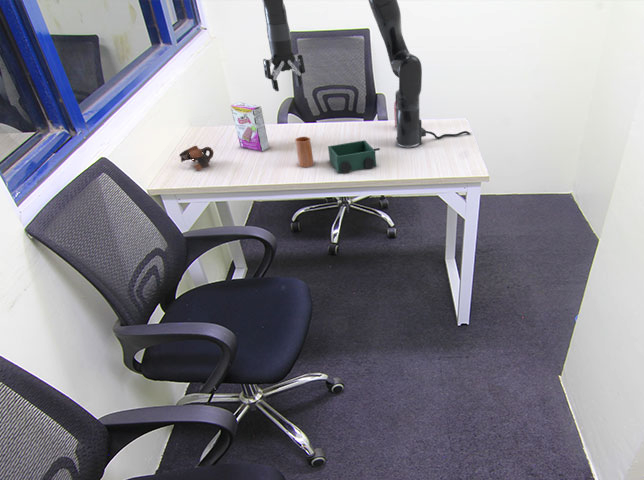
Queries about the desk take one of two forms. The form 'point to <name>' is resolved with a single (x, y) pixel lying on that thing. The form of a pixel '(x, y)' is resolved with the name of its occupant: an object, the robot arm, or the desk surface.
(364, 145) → the cart
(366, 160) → the cart wheels
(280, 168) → the desk surface
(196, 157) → the pottery mug
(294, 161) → the desk surface
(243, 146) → the candy bar box
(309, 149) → the orange cup
